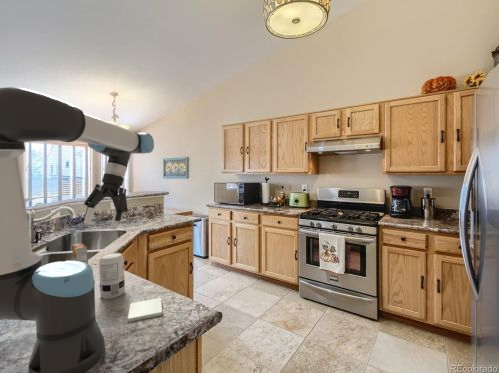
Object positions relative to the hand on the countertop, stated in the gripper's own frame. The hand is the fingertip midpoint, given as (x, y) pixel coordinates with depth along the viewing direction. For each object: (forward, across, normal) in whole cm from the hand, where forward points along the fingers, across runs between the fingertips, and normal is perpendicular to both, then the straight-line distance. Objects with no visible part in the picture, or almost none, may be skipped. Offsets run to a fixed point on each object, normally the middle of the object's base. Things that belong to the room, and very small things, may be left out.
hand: (99, 226), depth 99 cm
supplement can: (+24, -11, -4) cm, 27 cm away
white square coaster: (+23, -31, +2) cm, 39 cm away
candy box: (+25, +14, -11) cm, 31 cm away
